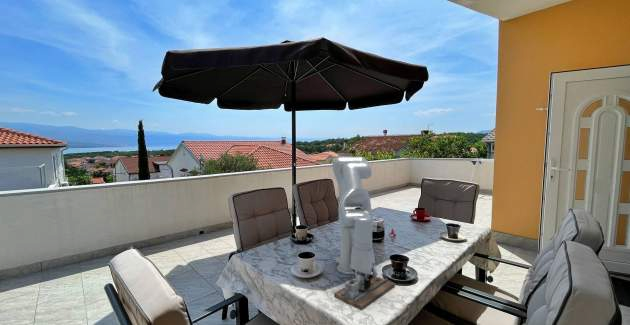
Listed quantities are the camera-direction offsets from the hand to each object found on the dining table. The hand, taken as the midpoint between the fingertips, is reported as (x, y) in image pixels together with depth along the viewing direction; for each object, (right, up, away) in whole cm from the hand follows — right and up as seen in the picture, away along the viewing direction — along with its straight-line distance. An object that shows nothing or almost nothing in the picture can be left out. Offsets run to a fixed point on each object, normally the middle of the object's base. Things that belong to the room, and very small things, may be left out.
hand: (362, 285), depth 121 cm
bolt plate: (+1, -3, +2) cm, 4 cm away
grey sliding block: (0, -1, 0) cm, 1 cm away
